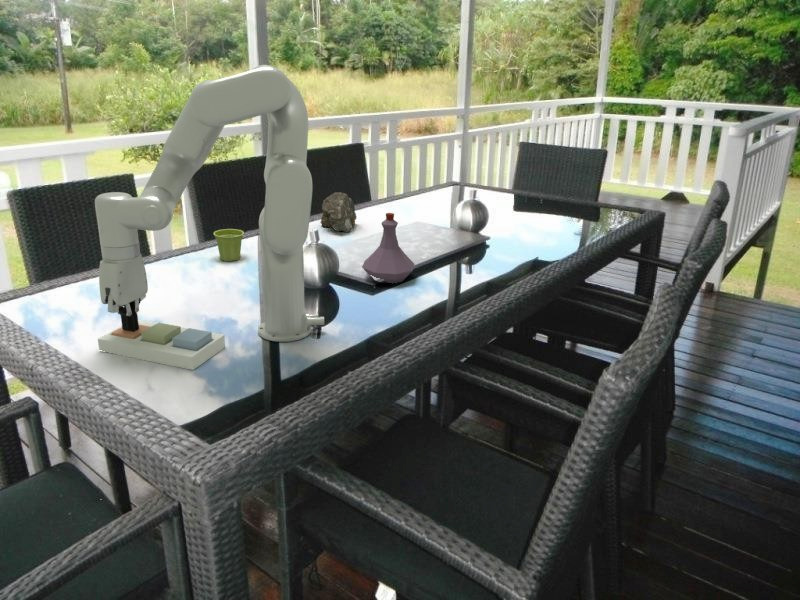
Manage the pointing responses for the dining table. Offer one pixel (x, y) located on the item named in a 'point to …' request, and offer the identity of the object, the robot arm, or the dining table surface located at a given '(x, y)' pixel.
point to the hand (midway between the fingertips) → (130, 329)
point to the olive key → (160, 333)
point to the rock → (338, 212)
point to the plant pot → (229, 243)
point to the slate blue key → (192, 339)
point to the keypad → (160, 349)
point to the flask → (389, 256)
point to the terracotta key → (130, 334)
